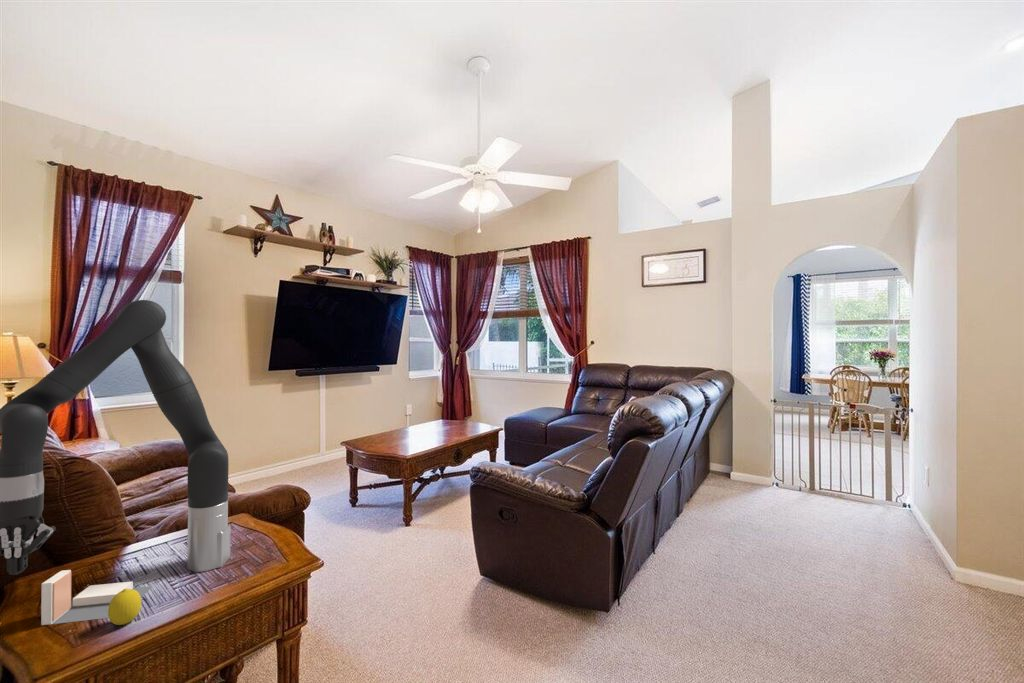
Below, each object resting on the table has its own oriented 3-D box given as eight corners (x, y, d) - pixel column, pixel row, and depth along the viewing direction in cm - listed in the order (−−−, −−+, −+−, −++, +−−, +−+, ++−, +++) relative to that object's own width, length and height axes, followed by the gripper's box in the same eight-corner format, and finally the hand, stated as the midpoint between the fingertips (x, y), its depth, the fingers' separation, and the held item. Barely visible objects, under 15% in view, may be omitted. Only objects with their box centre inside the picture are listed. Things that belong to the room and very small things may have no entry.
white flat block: (89, 594, 108) (132, 589, 110) (72, 607, 102) (118, 602, 105) (89, 585, 108) (132, 581, 110) (72, 598, 102) (118, 594, 105)
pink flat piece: (71, 608, 102) (72, 569, 102) (52, 623, 97) (53, 582, 97) (60, 609, 102) (61, 570, 102) (41, 625, 96) (41, 583, 96)
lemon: (121, 618, 100) (121, 582, 100) (147, 617, 100) (147, 581, 100) (100, 634, 94) (101, 596, 94) (128, 633, 95) (128, 595, 95)
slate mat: (153, 588, 112) (153, 585, 112) (121, 618, 100) (121, 616, 100) (82, 595, 108) (82, 592, 108) (40, 628, 96) (40, 625, 96)
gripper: (68, 487, 103) (66, 562, 103) (-3, 489, 100) (-5, 567, 100) (41, 498, 95) (39, 579, 95) (-35, 501, 93) (-38, 584, 92)
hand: (16, 572), depth 98 cm, fingers closed
